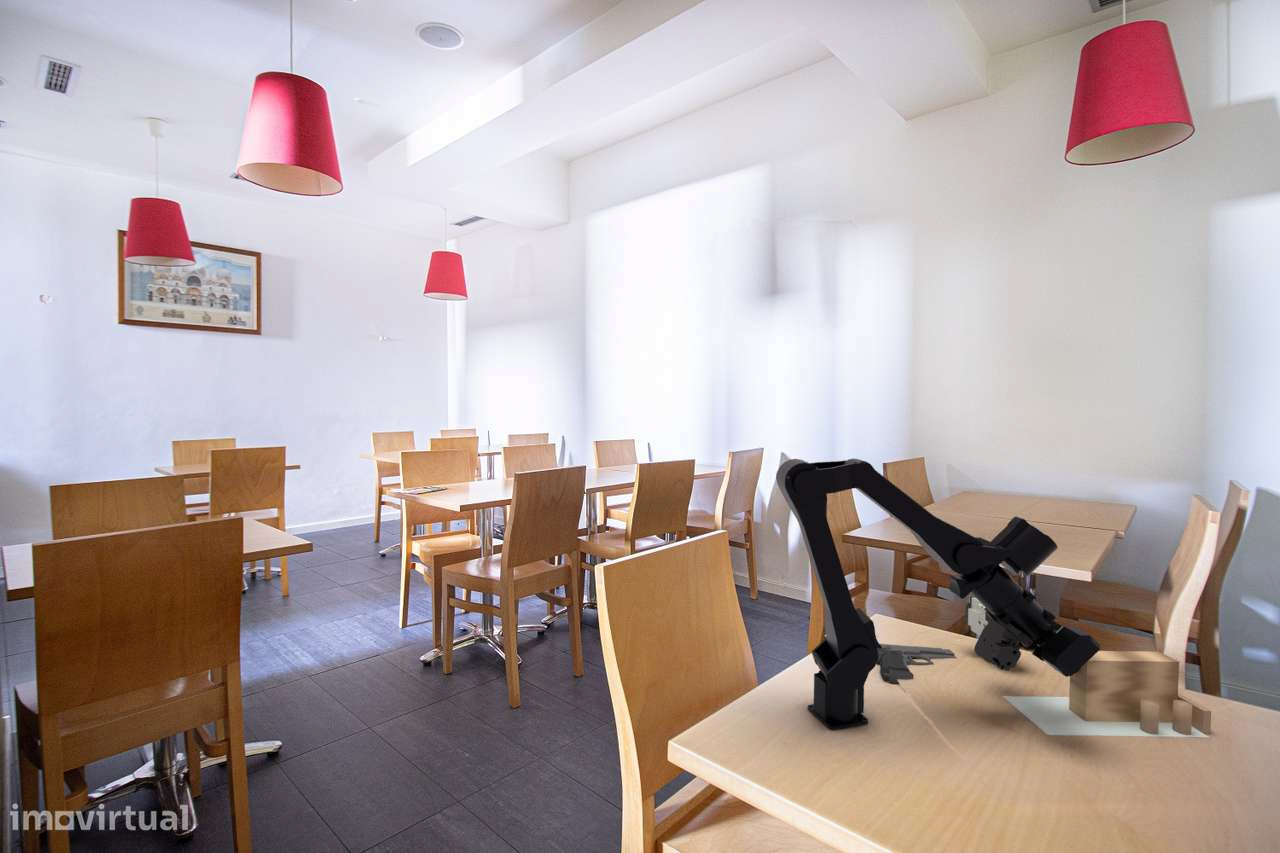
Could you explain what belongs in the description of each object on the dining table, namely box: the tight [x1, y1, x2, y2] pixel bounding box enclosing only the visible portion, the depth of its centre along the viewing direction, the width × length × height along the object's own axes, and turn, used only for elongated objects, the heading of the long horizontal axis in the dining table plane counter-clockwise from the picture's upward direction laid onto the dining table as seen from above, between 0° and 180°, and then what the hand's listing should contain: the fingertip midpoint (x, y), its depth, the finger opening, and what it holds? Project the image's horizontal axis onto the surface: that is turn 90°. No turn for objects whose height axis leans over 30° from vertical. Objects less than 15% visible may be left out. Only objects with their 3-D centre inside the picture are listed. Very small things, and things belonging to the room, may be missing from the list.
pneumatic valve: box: [965, 595, 1024, 649], centre depth 109 cm, size 6×12×12 cm, turn 6°
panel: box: [1002, 692, 1212, 739], centre depth 90 cm, size 23×11×5 cm, turn 88°
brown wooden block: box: [1068, 650, 1180, 723], centre depth 90 cm, size 13×4×9 cm, turn 88°
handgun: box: [877, 643, 958, 684], centre depth 107 cm, size 3×16×12 cm
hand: (1076, 670), depth 90 cm, fingers closed
